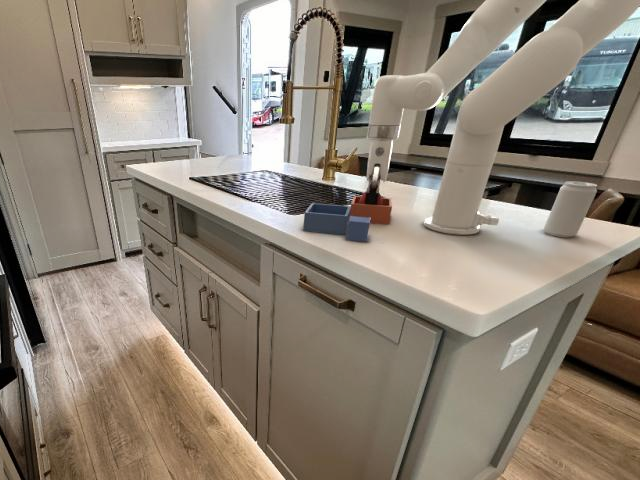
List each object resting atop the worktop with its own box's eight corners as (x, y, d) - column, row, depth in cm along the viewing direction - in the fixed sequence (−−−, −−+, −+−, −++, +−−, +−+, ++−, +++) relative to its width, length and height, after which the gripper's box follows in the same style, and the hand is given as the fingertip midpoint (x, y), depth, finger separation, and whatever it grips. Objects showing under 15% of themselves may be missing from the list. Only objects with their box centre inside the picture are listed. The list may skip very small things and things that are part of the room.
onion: (376, 212, 102) (381, 183, 98) (381, 218, 97) (387, 187, 93) (356, 212, 103) (359, 183, 99) (359, 218, 98) (364, 187, 94)
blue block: (367, 236, 86) (370, 217, 84) (366, 242, 82) (369, 222, 80) (347, 234, 87) (350, 215, 85) (346, 239, 83) (349, 220, 81)
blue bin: (348, 223, 95) (351, 206, 93) (344, 234, 87) (347, 216, 84) (310, 219, 98) (311, 203, 96) (303, 230, 90) (304, 212, 87)
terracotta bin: (388, 214, 103) (391, 198, 101) (388, 224, 94) (392, 206, 92) (351, 211, 106) (354, 195, 104) (348, 220, 97) (351, 203, 95)
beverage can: (570, 232, 88) (593, 181, 83) (579, 239, 83) (604, 186, 77) (539, 228, 91) (559, 179, 85) (546, 236, 86) (568, 184, 80)
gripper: (400, 136, 82) (384, 214, 90) (397, 131, 96) (384, 199, 105) (365, 135, 84) (353, 211, 93) (368, 130, 98) (358, 197, 107)
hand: (370, 204), depth 98 cm, fingers closed on onion, 5 cm apart
